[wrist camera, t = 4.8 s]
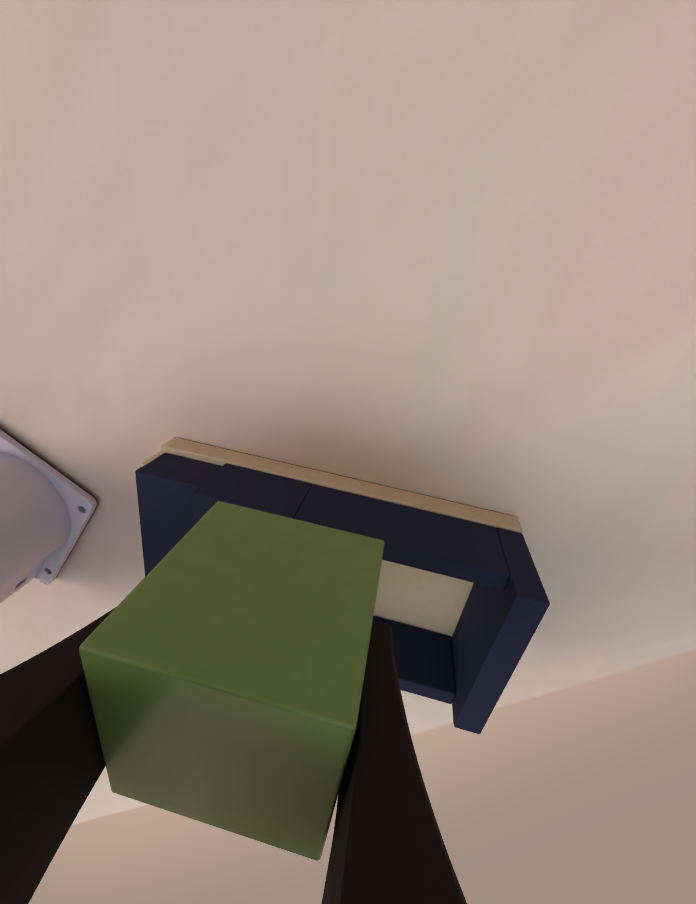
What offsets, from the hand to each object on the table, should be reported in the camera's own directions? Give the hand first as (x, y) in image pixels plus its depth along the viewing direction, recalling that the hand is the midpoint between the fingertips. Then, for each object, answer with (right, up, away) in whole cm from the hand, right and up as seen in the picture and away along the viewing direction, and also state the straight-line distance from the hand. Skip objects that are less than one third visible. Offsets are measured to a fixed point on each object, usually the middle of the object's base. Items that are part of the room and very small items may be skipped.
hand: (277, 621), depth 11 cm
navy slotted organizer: (+1, 0, +10) cm, 10 cm away
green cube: (0, +1, +1) cm, 1 cm away
